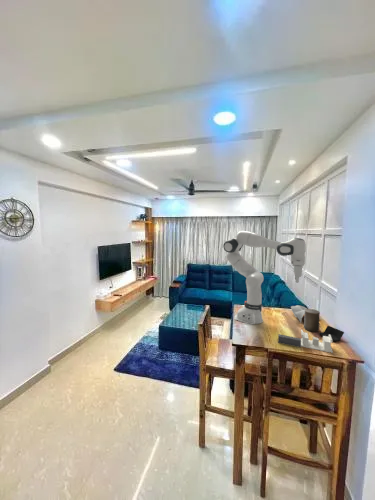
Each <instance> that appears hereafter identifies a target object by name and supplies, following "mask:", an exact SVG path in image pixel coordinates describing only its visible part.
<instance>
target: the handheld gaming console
mask: <svg viewBox="0 0 375 500" xmlns="http://www.w3.org/2000/svg"><path fill="white" fill-rule="evenodd" d="M318 334H319V336H322V337H323V336H329V334H330V335H331V338H332V342H339V341H341V339H342V337H343V335H344V334H345V331H343V330H341V329H338V328H336V327H333V326H330V325H327V326H326V328H325V330H324V331H322V332H318Z"/></svg>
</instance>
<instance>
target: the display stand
mask: <svg viewBox="0 0 375 500" xmlns="http://www.w3.org/2000/svg"><path fill="white" fill-rule="evenodd" d="M308 333H309V332H304V331H303V329H300V335H301V347H302V348H307V349H310V350H311V349H312V350H316V351H321V352H327V353H330V352H331V353H330V354H333V349H332V346H331V345H332V343H333V340H332V338H331V335H330V334H329V336H322V342H321V341H320V340H319V337H315V336H313V337H312V340H311V339H309V334H308ZM301 347H300V348H301Z"/></svg>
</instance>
